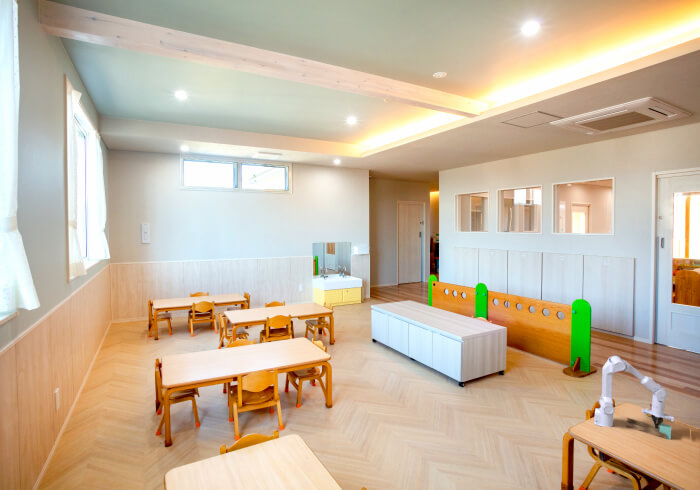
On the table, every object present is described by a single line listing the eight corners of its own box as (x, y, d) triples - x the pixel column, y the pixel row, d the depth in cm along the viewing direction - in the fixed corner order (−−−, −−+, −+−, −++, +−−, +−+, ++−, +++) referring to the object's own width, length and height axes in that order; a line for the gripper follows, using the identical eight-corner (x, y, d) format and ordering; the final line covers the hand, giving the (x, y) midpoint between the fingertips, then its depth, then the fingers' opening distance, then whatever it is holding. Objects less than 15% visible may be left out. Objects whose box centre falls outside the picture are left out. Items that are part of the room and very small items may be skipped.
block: (659, 436, 213) (659, 426, 213) (659, 432, 217) (660, 422, 216) (670, 439, 210) (671, 429, 209) (670, 435, 214) (671, 425, 213)
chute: (626, 428, 223) (626, 422, 222) (627, 423, 228) (627, 417, 228) (667, 440, 210) (667, 435, 210) (667, 435, 215) (667, 429, 215)
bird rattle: (648, 424, 230) (665, 423, 224) (640, 407, 232) (657, 405, 226) (647, 420, 235) (665, 419, 229) (640, 403, 237) (657, 401, 231)
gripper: (642, 404, 216) (640, 426, 218) (674, 413, 207) (672, 435, 208) (642, 400, 222) (641, 421, 223) (674, 408, 212) (672, 430, 213)
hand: (656, 428), depth 216 cm, fingers closed
